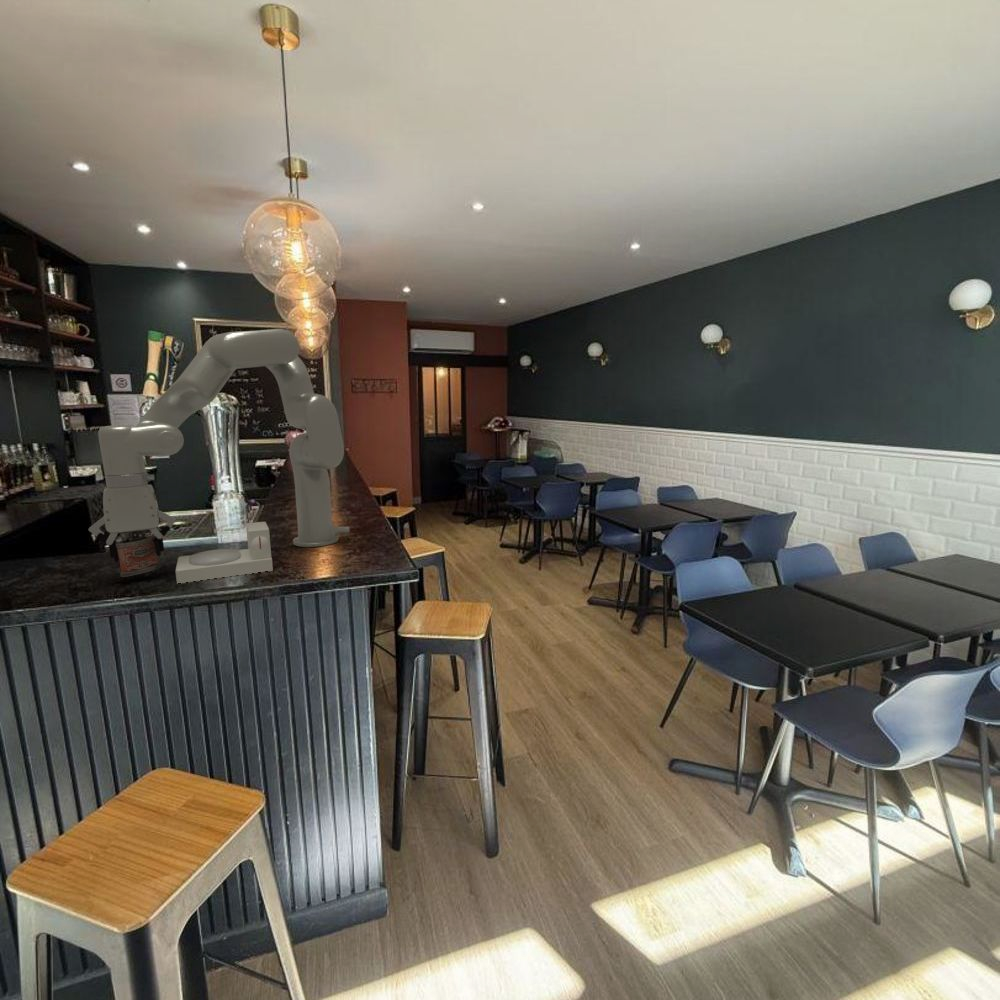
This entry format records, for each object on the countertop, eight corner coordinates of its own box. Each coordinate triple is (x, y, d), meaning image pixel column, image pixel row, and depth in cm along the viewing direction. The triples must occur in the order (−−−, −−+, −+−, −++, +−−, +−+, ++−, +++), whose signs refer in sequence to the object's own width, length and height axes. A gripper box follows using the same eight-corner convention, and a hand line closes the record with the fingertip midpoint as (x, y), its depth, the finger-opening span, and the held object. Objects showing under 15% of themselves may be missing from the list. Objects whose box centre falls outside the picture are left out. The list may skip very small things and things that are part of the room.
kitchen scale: (267, 557, 141) (264, 520, 139) (272, 570, 129) (269, 530, 128) (179, 568, 131) (175, 529, 130) (177, 584, 120) (172, 540, 118)
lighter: (125, 577, 119) (117, 534, 117) (117, 575, 121) (110, 532, 119) (163, 567, 126) (157, 526, 124) (155, 565, 127) (149, 524, 125)
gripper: (173, 475, 126) (183, 547, 130) (81, 482, 118) (95, 559, 122) (171, 479, 120) (181, 555, 123) (74, 487, 112) (88, 568, 115)
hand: (138, 556), depth 122 cm, fingers closed on lighter, 7 cm apart
